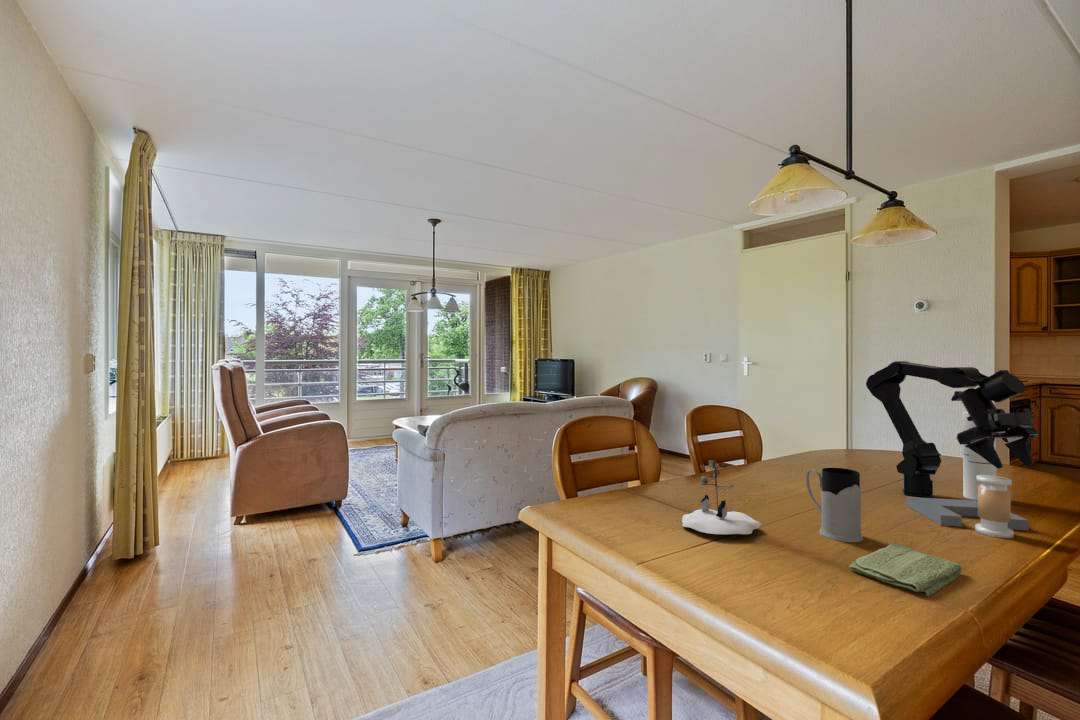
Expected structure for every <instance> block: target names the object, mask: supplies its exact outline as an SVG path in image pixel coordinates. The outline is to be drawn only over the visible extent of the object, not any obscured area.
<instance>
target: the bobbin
mask: <svg viewBox="0 0 1080 720" xmlns="http://www.w3.org/2000/svg"><path fill="white" fill-rule="evenodd" d="M976 480H977V481H978V482H980V486H978V500H977V501H978V517H977V518H980V523H979V522H978V523H975V524H974V525H975V526H974V530H975V532H976V533H979V534H981V535H984V536H988V537H990V538H991V537H992V538H998V539H1014V535H1015V534H1014V533H1015V530H1012V529H1009V528H1008V522H1010V521H1011V513H1012V512H1011V507H1012V506H1011V503H1012V502H1011V490H1010V489H1008V486H1012V485H1013V484H1012V479H1011V478H1007V477H1004V476H1000V475H999V476H998V475H996V476H992V475H977V476H976Z"/></svg>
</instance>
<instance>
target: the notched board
mask: <svg viewBox="0 0 1080 720" xmlns="http://www.w3.org/2000/svg"><path fill="white" fill-rule="evenodd" d="M906 507H907V508H909V509H911V510H913V511H915V512H916V513H918V514H920V515H922V516H924V517H925V518H927V519H929V520H930V521H932V522H934V523H936V524H938V525H939V526H944V527H945V526H946V527H947V526H948V527H963V517H967V518H968V517H969V518H971V517H972V518H979V517H978V500H973V499H955V498H953V499H951V498H935V497H933V498H932V497H931V498H929V497H917V496H914V497H912V496H907V497H906ZM1029 526H1030V525H1029V520H1028V519H1027V518H1024V517H1021V516H1020V515H1017V514H1015V513H1012V512H1011V521H1010V522H1008V528H1009V529H1012V530H1013V531H1026V532H1027V531H1029Z"/></svg>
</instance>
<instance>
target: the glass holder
mask: <svg viewBox="0 0 1080 720" xmlns="http://www.w3.org/2000/svg"><path fill="white" fill-rule="evenodd" d="M812 471H813V472H815V473H816V475H817V477H818V481H819V482H818V483H819V487H820V489H821V493H820V495H821V496H820V498H821V499H820V500H821V501H820V502H821V503H820V504H821V505H819V503H818V502H817V500H816V499H815V497H814V495H813V493H812V490H811V486H810V473H811V472H812ZM860 475H861V473H860V472H859V471H858V470H854V469H850V468H849V469H848V468H844V467H843V468H842V467H823V468H822V469H821V473H820V471H819V470H817V469H814V468H811V469H808V470H807V472H806V474H805V483H806V488H807V491H808V495H809V497H810V499H811V501H812V502H813V504H814V505H815V507H816V508H817V509H818V510H819V513H820V514H821V515H820V517H821V527H820V529H819V531H818V532H819V534H820V535H821V536H823V537H825V538H828V539H830V540H834V541H837V542H844V543H860V542H863V540H864V536H863V535H862V517H861V516H862V501H861V500H862V499H861V498H862V496H861V495H862V491H861V490H862V488H861V486H860V485H861V484H860V483H861V481H860V479H861V476H860Z"/></svg>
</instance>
